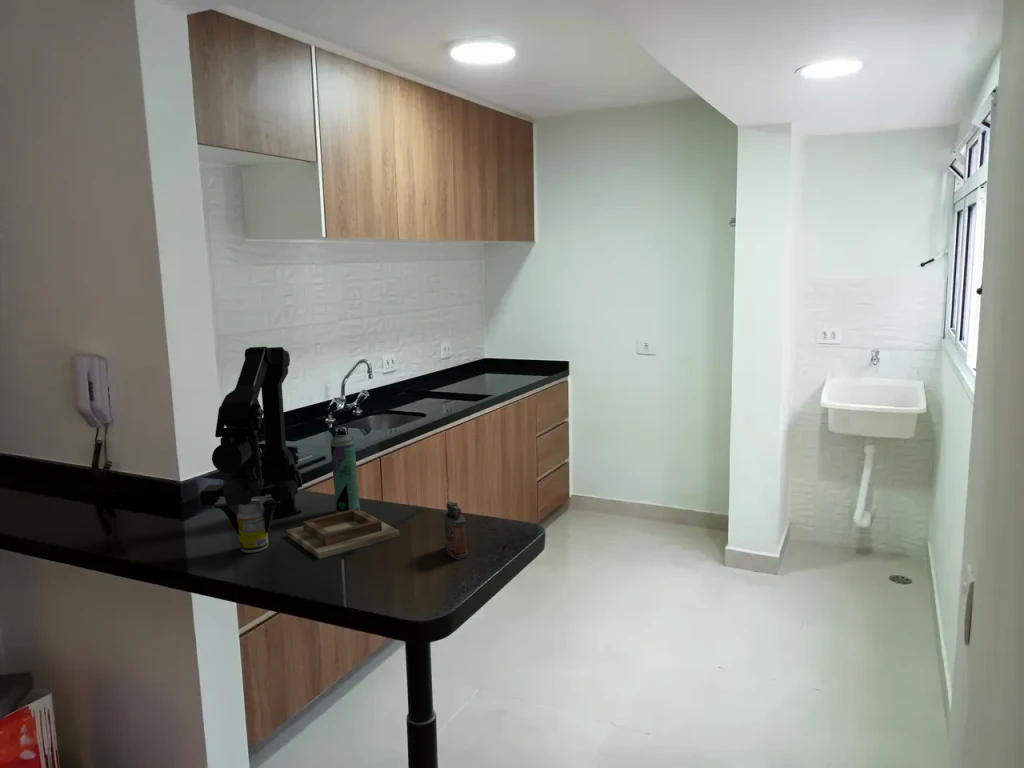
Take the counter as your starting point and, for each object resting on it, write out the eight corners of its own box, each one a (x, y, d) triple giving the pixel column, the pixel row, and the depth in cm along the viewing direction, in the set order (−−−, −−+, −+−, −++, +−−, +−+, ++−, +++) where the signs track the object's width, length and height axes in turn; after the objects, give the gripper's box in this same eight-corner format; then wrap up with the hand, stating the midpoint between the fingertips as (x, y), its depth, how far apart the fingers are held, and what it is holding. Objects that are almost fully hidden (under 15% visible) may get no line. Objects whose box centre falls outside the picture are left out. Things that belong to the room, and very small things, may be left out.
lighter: (441, 547, 151) (438, 499, 150) (457, 544, 153) (454, 497, 151) (454, 560, 144) (451, 511, 142) (471, 557, 145) (468, 507, 144)
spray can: (350, 506, 181) (343, 425, 178) (364, 509, 178) (358, 427, 175) (331, 512, 177) (324, 430, 174) (346, 516, 174) (339, 432, 170)
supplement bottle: (245, 544, 158) (240, 498, 157) (272, 543, 158) (267, 496, 157) (237, 554, 153) (231, 506, 151) (264, 553, 153) (259, 505, 151)
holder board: (287, 535, 163) (285, 521, 162) (363, 516, 173) (362, 502, 173) (319, 558, 148) (317, 543, 148) (400, 536, 159) (398, 521, 158)
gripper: (183, 473, 144) (192, 549, 147) (280, 467, 145) (288, 544, 147) (204, 458, 155) (212, 530, 158) (295, 453, 156) (301, 524, 158)
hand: (253, 532), depth 155 cm, fingers closed on supplement bottle, 5 cm apart
